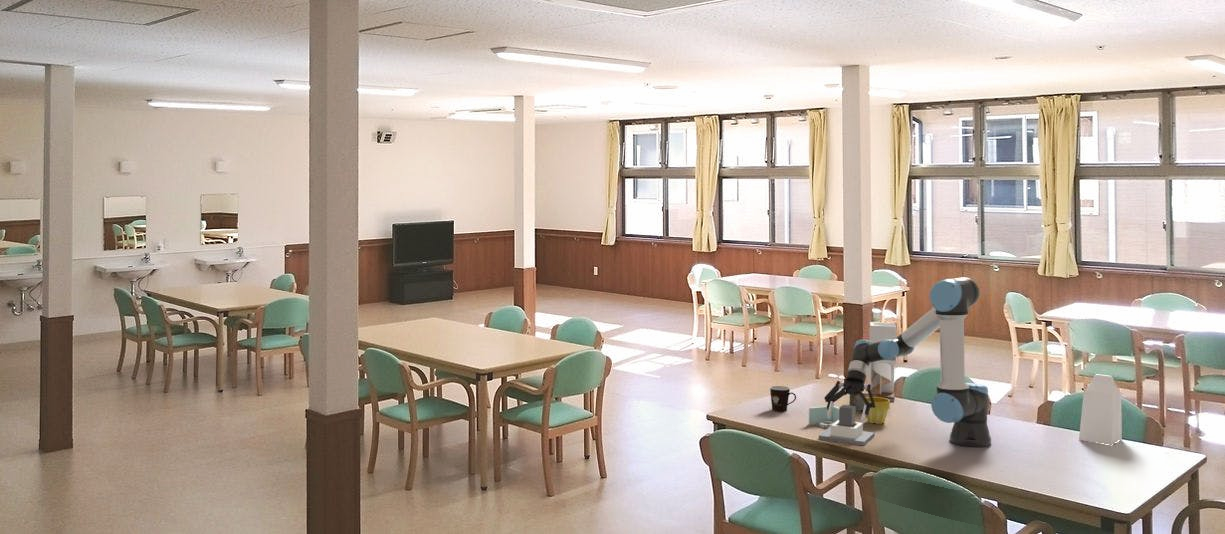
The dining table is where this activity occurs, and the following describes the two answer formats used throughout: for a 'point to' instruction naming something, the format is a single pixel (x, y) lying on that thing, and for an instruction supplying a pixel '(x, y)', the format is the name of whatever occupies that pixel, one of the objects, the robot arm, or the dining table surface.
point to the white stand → (882, 362)
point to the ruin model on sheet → (858, 401)
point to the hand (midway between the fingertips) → (845, 418)
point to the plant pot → (878, 410)
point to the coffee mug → (780, 398)
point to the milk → (1101, 411)
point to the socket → (847, 434)
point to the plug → (847, 415)
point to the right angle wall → (823, 416)
